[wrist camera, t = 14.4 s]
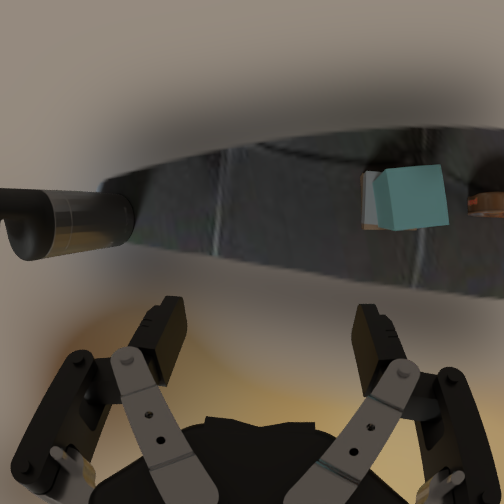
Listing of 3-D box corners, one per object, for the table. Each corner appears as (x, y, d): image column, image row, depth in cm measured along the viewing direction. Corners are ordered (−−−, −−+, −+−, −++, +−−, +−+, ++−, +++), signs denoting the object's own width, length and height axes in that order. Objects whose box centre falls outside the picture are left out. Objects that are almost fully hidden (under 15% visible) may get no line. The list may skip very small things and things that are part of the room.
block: (378, 227, 32) (394, 230, 22) (372, 182, 31) (385, 169, 22) (419, 222, 30) (449, 224, 21) (412, 178, 30) (440, 164, 20)
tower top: (361, 223, 36) (364, 223, 32) (363, 175, 35) (366, 170, 31) (406, 227, 34) (413, 228, 31) (408, 179, 33) (415, 176, 30)
